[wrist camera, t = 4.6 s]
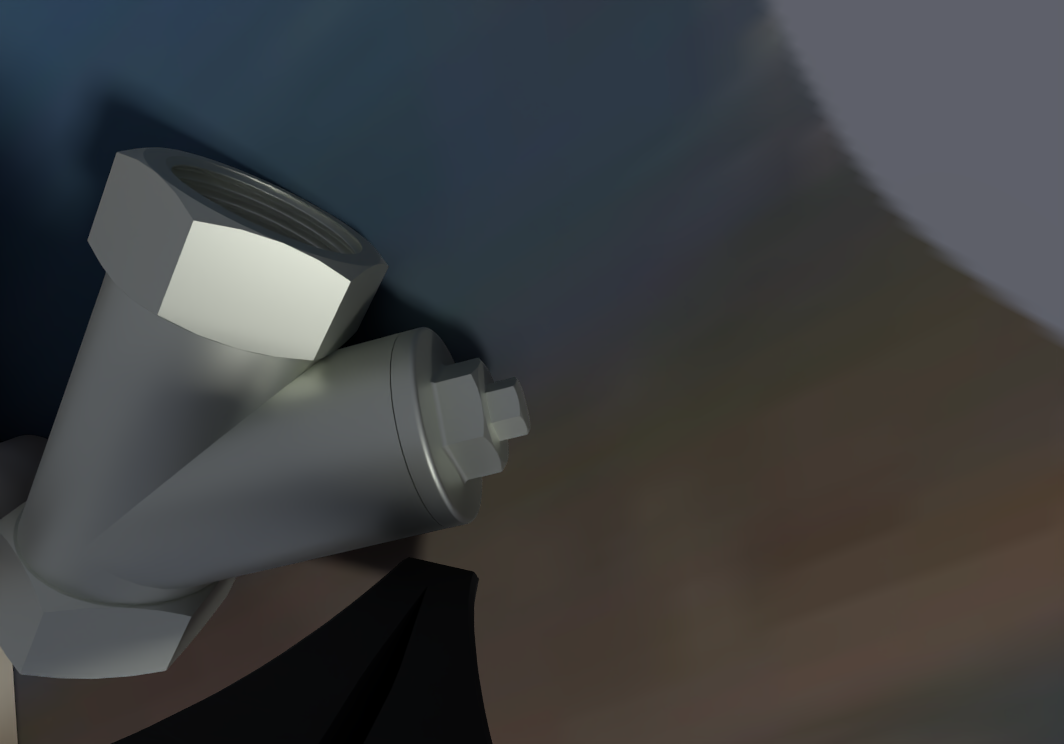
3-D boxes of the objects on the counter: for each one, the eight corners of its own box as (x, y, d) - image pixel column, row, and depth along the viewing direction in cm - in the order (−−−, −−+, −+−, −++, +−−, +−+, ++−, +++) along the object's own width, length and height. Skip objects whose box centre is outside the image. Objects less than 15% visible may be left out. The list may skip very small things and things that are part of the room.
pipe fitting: (562, 342, 11) (237, 158, 10) (569, 413, 7) (58, 132, 6) (384, 637, 13) (102, 503, 12) (318, 810, 9) (-92, 633, 9)
